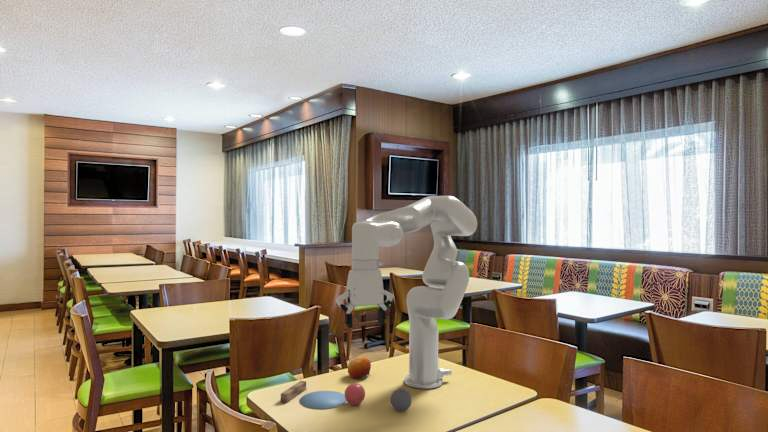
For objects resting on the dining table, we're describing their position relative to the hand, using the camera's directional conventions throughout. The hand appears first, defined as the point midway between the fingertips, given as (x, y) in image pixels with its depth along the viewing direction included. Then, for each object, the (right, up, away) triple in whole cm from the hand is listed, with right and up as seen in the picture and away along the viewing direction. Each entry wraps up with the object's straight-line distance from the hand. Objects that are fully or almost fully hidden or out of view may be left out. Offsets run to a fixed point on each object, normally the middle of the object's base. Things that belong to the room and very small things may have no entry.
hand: (365, 325), depth 139 cm
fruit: (-3, -24, +27) cm, 37 cm away
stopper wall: (-22, -24, +9) cm, 34 cm away
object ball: (-3, -21, +3) cm, 21 cm away
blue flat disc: (-13, -24, +6) cm, 27 cm away
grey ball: (+10, -21, -2) cm, 23 cm away
